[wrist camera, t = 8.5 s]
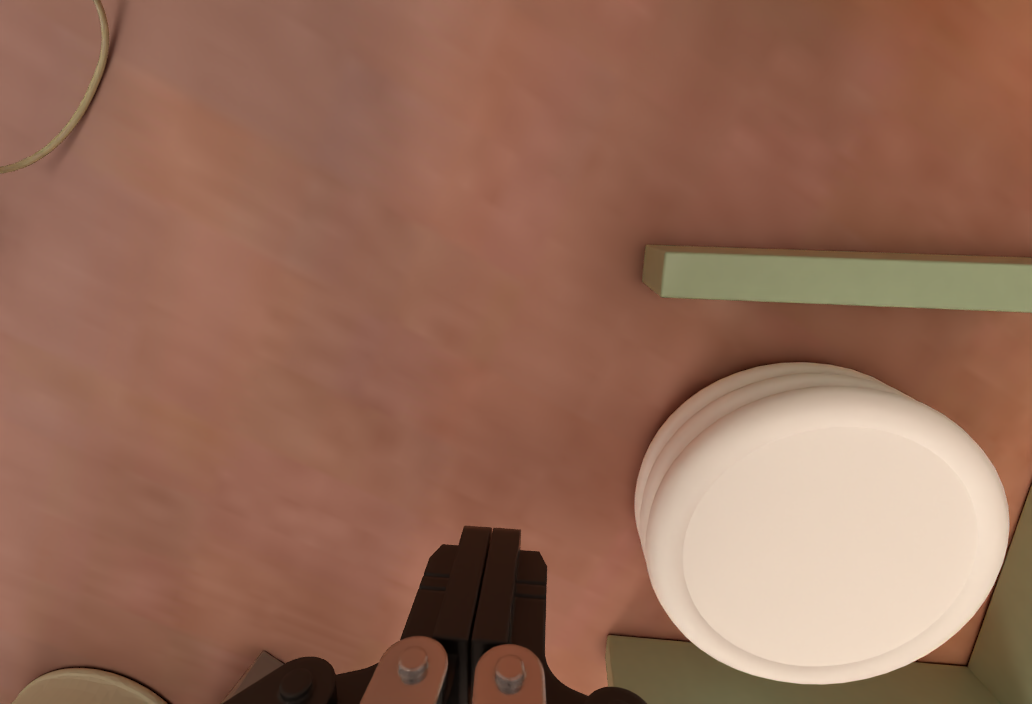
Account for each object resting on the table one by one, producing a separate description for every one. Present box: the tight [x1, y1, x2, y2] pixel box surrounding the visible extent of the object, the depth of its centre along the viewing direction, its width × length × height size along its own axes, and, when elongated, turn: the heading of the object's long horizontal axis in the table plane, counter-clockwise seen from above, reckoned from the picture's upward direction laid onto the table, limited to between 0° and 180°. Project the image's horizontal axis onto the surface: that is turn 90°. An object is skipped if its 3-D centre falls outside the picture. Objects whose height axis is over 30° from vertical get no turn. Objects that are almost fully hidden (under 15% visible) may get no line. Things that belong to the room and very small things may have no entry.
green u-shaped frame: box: [605, 245, 1032, 704], centre depth 16 cm, size 16×15×3 cm
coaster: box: [634, 362, 1010, 684], centre depth 16 cm, size 10×10×4 cm
